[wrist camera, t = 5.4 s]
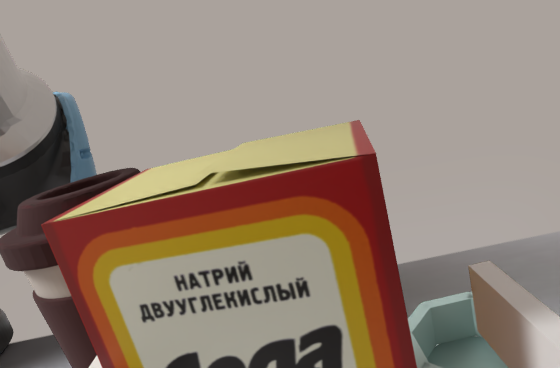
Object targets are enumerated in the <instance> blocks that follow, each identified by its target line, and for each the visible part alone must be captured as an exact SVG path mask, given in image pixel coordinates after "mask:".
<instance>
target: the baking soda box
mask: <svg viewBox="0 0 560 368" xmlns="http://www.w3.org/2000/svg"><path fill="white" fill-rule="evenodd" d="M41 226H42V228H43V231H44V233H45V235H46V238H47V240H48V242H49V245H50V247H51V249H52V252H53V254H54V256H55V259H56V261H57V263H58V266H59V268H60V270H61V273H62V275H63V277H64V280H65V282H66V284H67V287H68V289H69V291H70V294H71V296H72V298H73V301H74V303H75V305H76V308H77V310H78V312H79V315H80V317H81V319H82V322H83V324H84V326H85V329H86V331H87V333H88V336H89V338H90V340H91V343H92V345H93V347H94V350H95V352H96V354H97V357H98V359H99V361H100V364H101V366H102V368H417V365H416V360H415V354H414V349H413V344H412V339H411V334H410V328H409V323H408V318H407V313H406V308H405V303H404V297H403V292H402V287H401V282H400V277H399V271H398V266H397V261H396V256H395V251H394V246H393V240H392V235H391V230H390V225H389V220H388V214H387V209H386V204H385V199H384V194H383V188H382V184H381V178H380V173H379V168H378V162H377V157H376V153H375V151H374V149H373V147H372V145H371V143H370V141H369V139H368V137H367V135H366V133H365V130H364V128H363V126H362V124H361V122H360V121H359V120H357V121H353V122H347V123H342V124H337V125H332V126H327V127H322V128H317V129H312V130H307V131H302V132H297V133H292V134H287V135H281V136H277V137H272V138H266V139H261V140H256V141H251V142H247V143H243V144H241V145H240V146H238V147H237V148H235V149H232V150H228V151H224V152H219V153H215V154H211V155H206V156H202V157H198V158H193V159H189V160H185V161H181V162H176V163H172V164H167V165H163V166H159V167H154V168H150V169H147V170H144V171H142V172H140V173H138V174H137V175H135V176H133V177H131V178H129V179H127V180H125V181H123V182H121V183H119V184H117V185H116V186H114V187H112V188H110V189H108V190H106V191H104V192H102V193H100V194H98V195H96V196H95V197H93V198H91V199H89V200H87V201H85V202H83V203H81V204H79V205H77V206H75V207H74V208H72V209H70V210H68V211H66V212H64V213H62V214H60V215H58V216H56V217H54V218H53V219H51V220H49V221H47V222H45V223H43V224H41Z"/></svg>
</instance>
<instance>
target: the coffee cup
mask: <svg viewBox="0 0 560 368" xmlns="http://www.w3.org/2000/svg"><path fill="white" fill-rule="evenodd" d="M138 173H140V171H139V170H138V169H135V168H126V169H120V170H115V171H110V172H106V173H103V174H99V175H95V176H91V177H87V178H84V179H81V180H77V181H74V182H71V183H68V184H65V185H62V186H59V187H56V188H53V189H51V190H48V191H45V192H43V193H40V194H38V195H35V196H33V197H31V198H29V199H27V200H25V201H23V202H22V203H21V204H19V206H18V210H17V227H16V228H15V229H13V230H11V231H10V232H8V233H7V234H5V235H4V236H2V237H1V238H0V254H1V256H2V258H3V260H4V262H5V265H6V266H7V267H8V268H9V269H11V270H14V271H24V273H25V274H26V276H27V278H28V280H29V282H30V284H31V285H32V287H33V289H34V291H33V298H34V300H35V302H36V304H37V306H38V308H39V309H40V311H41V313H42V315H43V316H44V318H45V320H46V322H47V324H48V325H49V327H50V329H51V331H52V332H53V334H54V336H55V338H56V340H57V341H58V343H59V345H60V347H61V348H62V350H63V352H64V354H65V355H66V357H67V359H68V361H69V363H70V364H71V366H72V368H89V366H90V365H91V363H92V362H93V360H94V359H95V357H96V356H97V354H96V352H95V350H94V347H93V345H92V343H91V340H90V338H89V336H88V333H87V331H86V329H85V326H84V324H83V322H82V319H81V317H80V315H79V312H78V310H77V308H76V305H75V303H74V301H73V298H72V296H71V294H70V291H69V289H68V287H67V284H66V282H65V280H64V277H63V275H62V273H61V270H60V268H59V266H58V263H57V261H56V259H55V256H54V254H53V252H52V249H51V247H50V245H49V242H48V240H47V238H46V235H45V233H44V231H43V228H42V226H41V224H43V223H45V222H47V221H49V220H51V219H53V218H54V217H56V216H58V215H60V214H62V213H64V212H66V211H68V210H70V209H72V208H74V207H75V206H77V205H79V204H81V203H83V202H85V201H87V200H89V199H91V198H93V197H95V196H96V195H98V194H100V193H102V192H104V191H106V190H108V189H110V188H112V187H114V186H116V185H117V184H119V183H121V182H123V181H125V180H127V179H129V178H131V177H133V176H135V175H137V174H138Z"/></svg>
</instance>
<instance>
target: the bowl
mask: <svg viewBox="0 0 560 368" xmlns="http://www.w3.org/2000/svg"><path fill="white" fill-rule="evenodd" d="M408 323H409V328H410V334H411V339H412V344H413V349H414V354H415V360H416V365H417V368H508V367H507V365H506V364H505V363H504V362H503V361H502V359H501V358H500V357H499V356H498V355H497V353H496V352H495V351H494V350H493V349H492V347H491V346H490V345H489V344H488V343H487V341H486V340H485V339H484V338H483V337H482V336H481V334H480V333H479V332H478V330H477V323H476V316H475V309H474V302H473V295H472V292H470V293H469V292H464V293H460V294H455V295H451V296H447V297H442V298H438V299H434V300H430V301H425V302H422V304H421V303H420V304H419V305H418V307H417V308H416V309H415V310H414V312H413V313H412V314H411V315H410V317H409V318H408ZM477 336H480V337H477ZM437 344H439V345H437ZM436 345H437V346H436ZM435 346H436V347H435Z"/></svg>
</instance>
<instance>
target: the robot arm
mask: <svg viewBox="0 0 560 368" xmlns="http://www.w3.org/2000/svg"><path fill="white" fill-rule="evenodd" d="M95 175H97V174H96V170H95V165H94V161H93V157H92V154H91V152H90V147H89V143H88V138H87V134H86V131H85V127H84V124H83V121H82V118H81V115H80V112H79V109H78V106H77V104H76V101H75V99H74V97H73V96H72V95H71V94H69V93H59V92H52V91H51V89H50V88H49V87H48V85H47V84H46V83H45V82H44V81H43V80H42V79H41V78H40V77H38V76H37V75H35V74H33V73H31V72H29V71H26V70H24V69H21V68H18V67H17V65H16V63H15V61H14V59H13V58H12V56H11V54H10V52H9V50H8V48H7V46H6V44H5V42H4V41H3V39H2V37H1V35H0V235H2V234H5V233H8V232H10V231H11V230H13V229H15V228H16V227H17V210H18V206H19V204H21V203H22V202H23V201H25V200H27V199H29V198H31V197H33V196H35V195H38V194H40V193H43V192H45V191H48V190H51V189H53V188H56V187H59V186H62V185H65V184H68V183H71V182H74V181H77V180H81V179H84V178H87V177H91V176H95ZM468 267H469V274H470V281H471V288H472V295H473V302H474V309H475V316H476V323H477V330H478V332H479V333H480V334H481V336H482V337H483V338H484V339H485V340H486V341H487V343H488V344H489V345H490V346H491V347H492V349H493V350H494V351H495V352H496V353H497V355H498V356H499V357H500V358H501V359H502V361H503V362H504V363H505V364H506V365H507V367H508V368H560V317H559V316H558V315H557V314H556V313H554V312H553V311H552V310H551V309H549V308H548V307H547V306H546V305H544V304H543V303H542V302H541V301H539V300H538V299H537V298H536V297H534V296H533V295H532V294H531V293H529V292H528V291H527V290H526V289H524V288H523V287H522V286H521V285H520V284H518V283H517V282H516V281H515V280H513V279H512V278H511V277H510V276H508V275H507V274H506V273H505V272H503V271H502V270H501V269H500V268H498V267H497V266H496V265H495V264H493V263H492V262H491V261H490V260H489V261H485V262H481V263H476V264H472V265H468ZM12 336H13V329H12V327H11V325H10V322H9V320H8V318H7V316H6V314H5V313H4V312H3V310H1V309H0V354H1V352H2V351H3V350H4V349H5V348H6V347H7V345H8V344H9V342H10V341H11V339H12ZM89 368H102V366H101V364H100V361H99V359H98V357H97V356H96V357H95V359H94V360H93V362H92V363H91V365H90V366H89Z"/></svg>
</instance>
